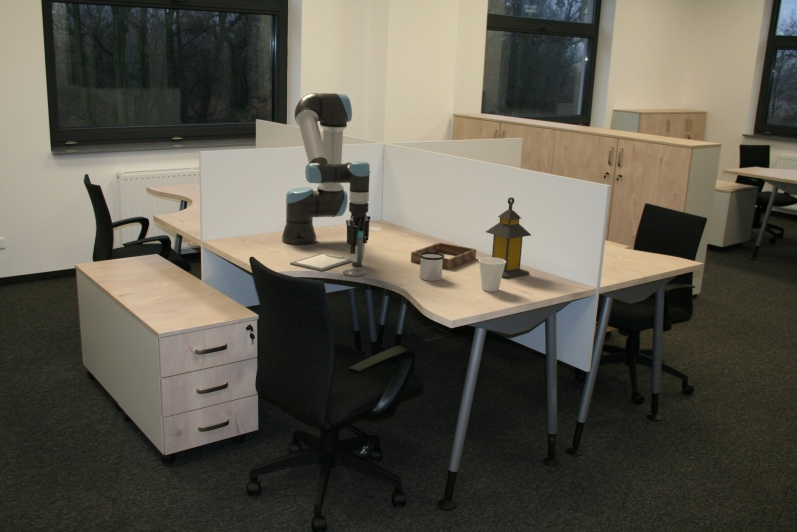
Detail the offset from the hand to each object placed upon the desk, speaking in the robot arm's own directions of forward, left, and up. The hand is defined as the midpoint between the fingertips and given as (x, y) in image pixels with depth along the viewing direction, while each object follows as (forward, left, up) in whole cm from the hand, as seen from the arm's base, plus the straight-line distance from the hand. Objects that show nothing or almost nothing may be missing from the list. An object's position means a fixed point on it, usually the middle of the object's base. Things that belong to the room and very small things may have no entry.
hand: (357, 260), depth 296 cm
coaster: (+10, +6, -2) cm, 12 cm away
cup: (-5, +56, -2) cm, 56 cm away
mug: (-5, +32, -2) cm, 32 cm away
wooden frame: (-31, +22, -2) cm, 38 cm away
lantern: (-31, +50, -2) cm, 59 cm away
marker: (0, 0, -2) cm, 2 cm away
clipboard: (+6, -13, -2) cm, 14 cm away
